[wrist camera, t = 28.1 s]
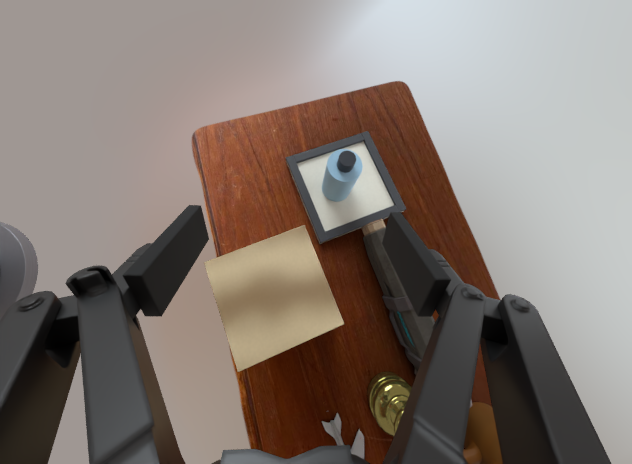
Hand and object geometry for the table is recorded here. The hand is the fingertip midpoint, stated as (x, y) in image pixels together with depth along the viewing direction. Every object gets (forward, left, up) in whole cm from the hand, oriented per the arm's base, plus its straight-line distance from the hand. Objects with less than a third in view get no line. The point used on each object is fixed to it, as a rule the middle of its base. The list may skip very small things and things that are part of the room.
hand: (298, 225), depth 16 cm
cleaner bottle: (-10, +12, -25) cm, 29 cm away
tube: (+14, +14, -26) cm, 33 cm away
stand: (+4, -4, -26) cm, 27 cm away
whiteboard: (-10, +14, -26) cm, 31 cm away
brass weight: (+27, +6, -26) cm, 38 cm away
